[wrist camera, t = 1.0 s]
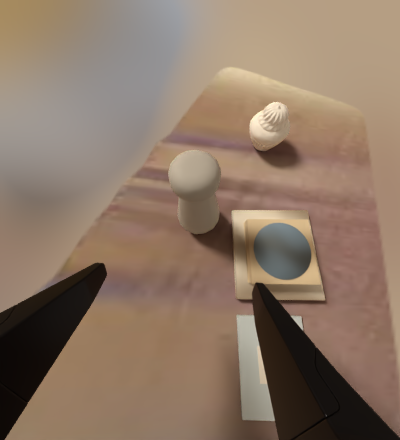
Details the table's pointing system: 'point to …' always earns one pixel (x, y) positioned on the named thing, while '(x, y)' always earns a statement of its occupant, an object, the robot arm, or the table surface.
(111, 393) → the table surface
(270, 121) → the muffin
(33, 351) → the robot arm
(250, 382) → the pale grey rectangular tile
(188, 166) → the beige mushroom knob
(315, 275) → the foundation
